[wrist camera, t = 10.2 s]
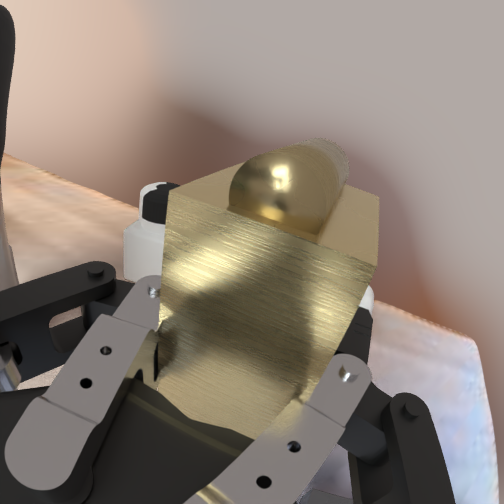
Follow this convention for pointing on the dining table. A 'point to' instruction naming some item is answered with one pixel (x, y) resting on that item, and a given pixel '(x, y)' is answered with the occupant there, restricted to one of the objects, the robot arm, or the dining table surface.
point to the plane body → (323, 498)
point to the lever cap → (261, 282)
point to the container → (147, 233)
